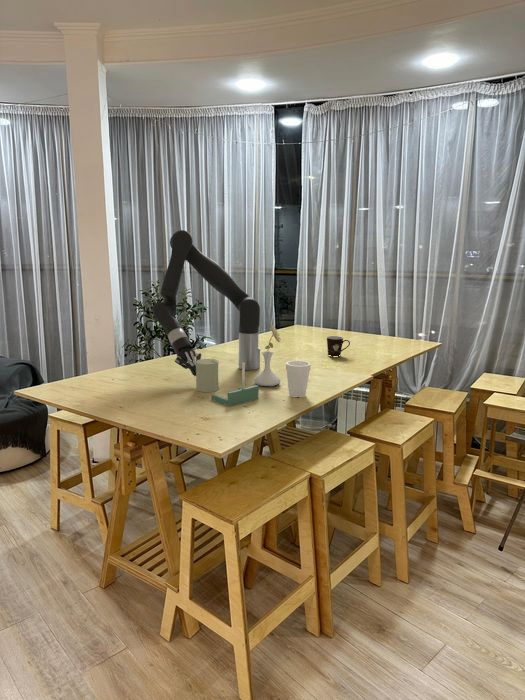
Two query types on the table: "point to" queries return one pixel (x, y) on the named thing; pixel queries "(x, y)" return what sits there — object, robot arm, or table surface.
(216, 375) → the can
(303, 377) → the foam cup
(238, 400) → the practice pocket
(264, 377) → the flower in vase
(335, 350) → the coffee mug
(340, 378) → the table surface
